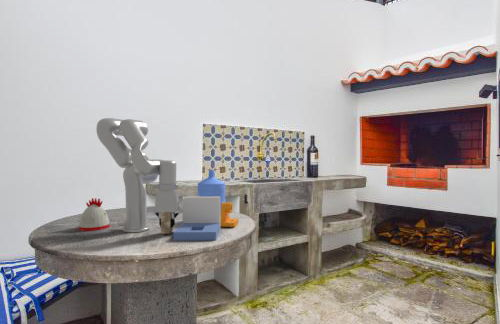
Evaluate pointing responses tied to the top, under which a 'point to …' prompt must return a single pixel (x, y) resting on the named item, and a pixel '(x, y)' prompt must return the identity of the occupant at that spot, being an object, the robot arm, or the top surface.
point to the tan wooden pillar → (166, 223)
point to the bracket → (227, 215)
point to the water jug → (212, 188)
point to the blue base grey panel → (199, 219)
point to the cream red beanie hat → (94, 217)
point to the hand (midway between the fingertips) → (166, 226)
